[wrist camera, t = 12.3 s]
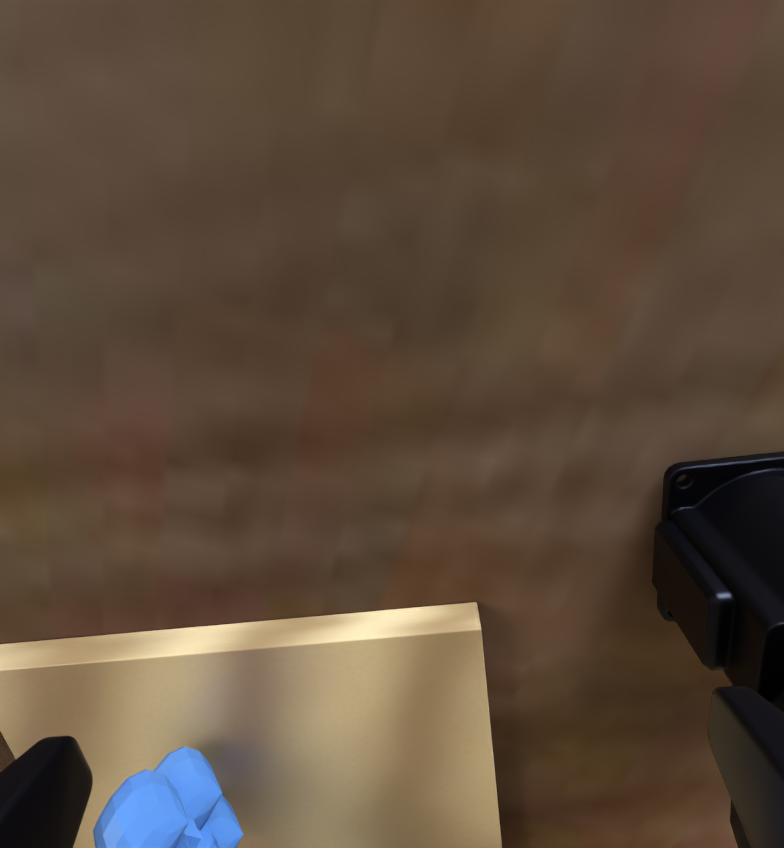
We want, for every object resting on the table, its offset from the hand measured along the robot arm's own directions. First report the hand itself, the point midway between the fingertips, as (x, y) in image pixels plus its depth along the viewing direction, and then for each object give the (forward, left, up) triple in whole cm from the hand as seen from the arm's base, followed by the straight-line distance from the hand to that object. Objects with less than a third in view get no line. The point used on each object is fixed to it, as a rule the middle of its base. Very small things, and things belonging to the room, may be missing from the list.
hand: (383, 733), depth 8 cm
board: (+8, +16, -12) cm, 22 cm away
